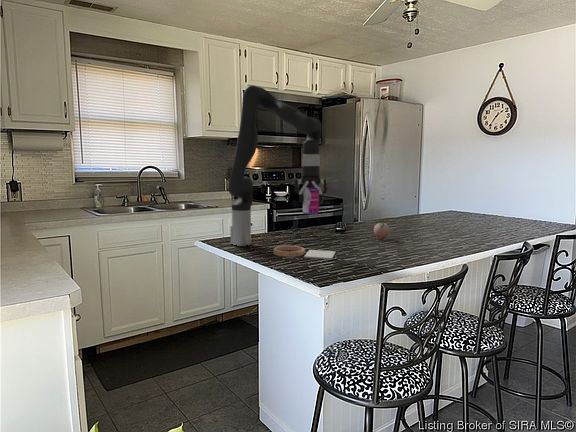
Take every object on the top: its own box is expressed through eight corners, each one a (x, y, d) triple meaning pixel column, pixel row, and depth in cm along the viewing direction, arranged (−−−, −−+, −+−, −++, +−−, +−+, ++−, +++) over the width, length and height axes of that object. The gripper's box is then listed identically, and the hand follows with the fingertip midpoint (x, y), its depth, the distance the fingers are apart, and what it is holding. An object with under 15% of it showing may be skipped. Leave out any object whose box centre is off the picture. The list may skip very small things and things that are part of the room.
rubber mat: (304, 257, 176) (304, 256, 176) (309, 251, 189) (309, 249, 188) (332, 259, 173) (332, 257, 173) (335, 252, 186) (335, 251, 186)
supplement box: (306, 214, 175) (306, 187, 174) (302, 213, 181) (302, 187, 180) (319, 214, 177) (319, 187, 176) (315, 212, 183) (315, 186, 181)
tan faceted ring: (270, 255, 179) (270, 251, 179) (278, 249, 192) (278, 245, 192) (301, 257, 176) (301, 252, 176) (306, 250, 189) (307, 246, 189)
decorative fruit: (391, 241, 213) (392, 222, 212) (375, 241, 213) (376, 222, 212) (387, 238, 223) (388, 219, 221) (372, 237, 223) (372, 219, 221)
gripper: (292, 165, 175) (293, 203, 177) (326, 165, 171) (326, 204, 173) (296, 165, 182) (296, 202, 184) (328, 165, 178) (328, 202, 180)
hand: (311, 203), depth 178 cm, fingers closed on supplement box, 7 cm apart
